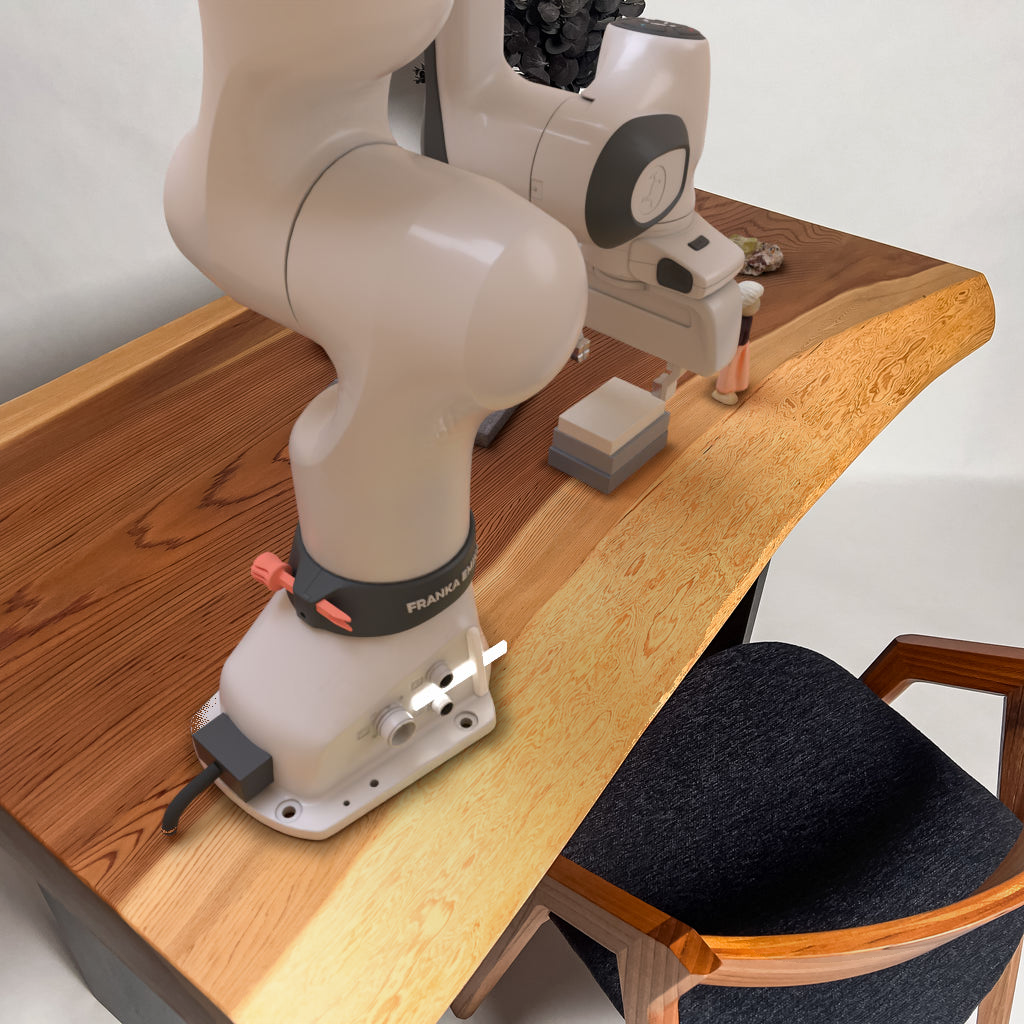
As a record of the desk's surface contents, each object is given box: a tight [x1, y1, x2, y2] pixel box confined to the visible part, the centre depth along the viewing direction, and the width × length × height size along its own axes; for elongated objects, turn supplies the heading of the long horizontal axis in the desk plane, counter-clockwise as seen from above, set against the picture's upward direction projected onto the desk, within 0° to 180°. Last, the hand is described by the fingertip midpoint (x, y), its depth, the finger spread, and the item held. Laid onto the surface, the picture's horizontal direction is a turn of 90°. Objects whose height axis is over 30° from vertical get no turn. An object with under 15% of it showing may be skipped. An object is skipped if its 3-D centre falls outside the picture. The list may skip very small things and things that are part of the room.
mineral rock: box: [727, 233, 785, 277], centre depth 125 cm, size 11×4×8 cm
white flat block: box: [557, 376, 667, 456], centre depth 90 cm, size 9×6×2 cm, turn 141°
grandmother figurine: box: [711, 280, 765, 406], centre depth 98 cm, size 8×4×13 cm, turn 168°
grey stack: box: [547, 410, 671, 496], centre depth 92 cm, size 10×7×4 cm
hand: (619, 376), depth 88 cm, fingers open, 8 cm apart
